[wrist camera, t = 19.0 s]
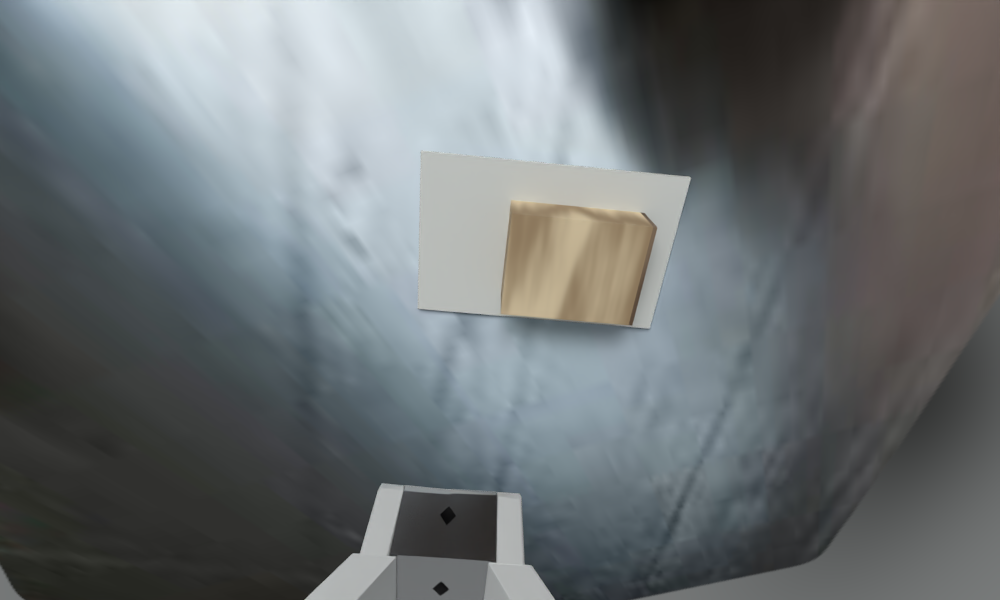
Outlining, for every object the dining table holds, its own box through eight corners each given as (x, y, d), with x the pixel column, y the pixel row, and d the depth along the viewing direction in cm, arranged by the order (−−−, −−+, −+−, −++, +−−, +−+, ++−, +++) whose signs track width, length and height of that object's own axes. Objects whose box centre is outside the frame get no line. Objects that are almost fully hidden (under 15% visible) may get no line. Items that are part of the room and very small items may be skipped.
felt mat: (688, 176, 36) (690, 178, 36) (648, 326, 42) (649, 328, 42) (421, 150, 35) (420, 151, 35) (418, 306, 41) (417, 308, 41)
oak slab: (510, 200, 36) (644, 212, 37) (500, 294, 40) (622, 304, 40) (511, 213, 33) (657, 227, 34) (500, 314, 37) (632, 325, 37)
